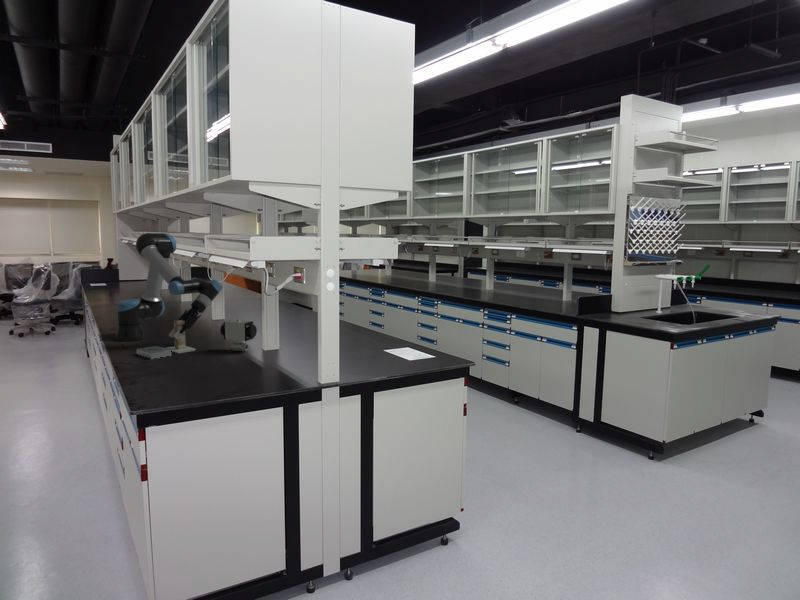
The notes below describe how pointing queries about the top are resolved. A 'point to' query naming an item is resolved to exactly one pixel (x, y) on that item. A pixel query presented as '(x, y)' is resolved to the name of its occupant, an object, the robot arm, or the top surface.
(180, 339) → the peg
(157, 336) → the top surface
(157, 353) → the socket block
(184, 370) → the top surface
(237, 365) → the top surface
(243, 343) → the bench grinder
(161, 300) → the robot arm
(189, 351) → the pad
